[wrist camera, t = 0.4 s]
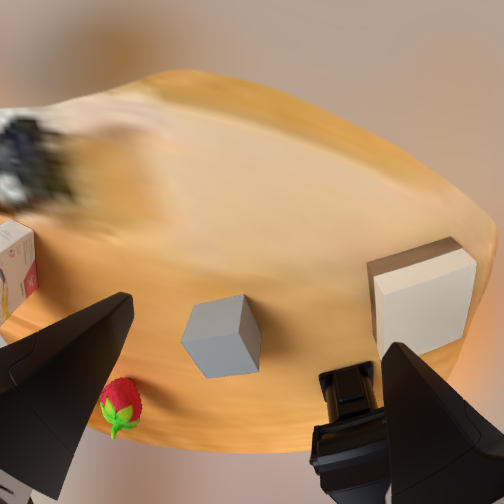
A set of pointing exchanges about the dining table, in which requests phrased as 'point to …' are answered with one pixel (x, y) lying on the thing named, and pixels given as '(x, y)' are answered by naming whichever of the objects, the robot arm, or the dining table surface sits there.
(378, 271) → the tower bottom
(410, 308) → the tower top
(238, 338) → the slate cube
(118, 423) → the strawberry
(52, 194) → the dining table surface
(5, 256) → the ink cartridge box
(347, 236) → the dining table surface
